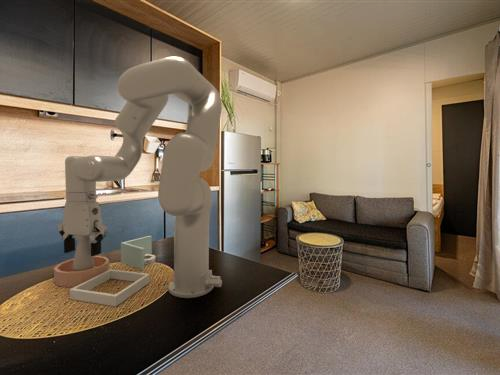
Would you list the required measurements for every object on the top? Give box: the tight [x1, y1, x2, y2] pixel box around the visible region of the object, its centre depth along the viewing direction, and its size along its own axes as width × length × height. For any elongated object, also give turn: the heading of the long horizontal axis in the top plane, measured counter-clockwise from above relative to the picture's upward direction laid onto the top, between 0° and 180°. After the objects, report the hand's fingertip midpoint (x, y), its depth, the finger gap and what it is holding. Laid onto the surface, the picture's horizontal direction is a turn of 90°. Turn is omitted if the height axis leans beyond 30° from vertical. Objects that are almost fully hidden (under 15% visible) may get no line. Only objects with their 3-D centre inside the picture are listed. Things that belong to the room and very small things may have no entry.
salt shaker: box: [72, 235, 95, 272], centre depth 76 cm, size 6×6×13 cm
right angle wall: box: [120, 235, 157, 271], centre depth 91 cm, size 12×12×8 cm
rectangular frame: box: [69, 268, 151, 307], centre depth 68 cm, size 14×14×2 cm
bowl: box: [53, 255, 111, 288], centre depth 76 cm, size 14×14×4 cm
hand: (82, 253), depth 76 cm, fingers open, 9 cm apart
